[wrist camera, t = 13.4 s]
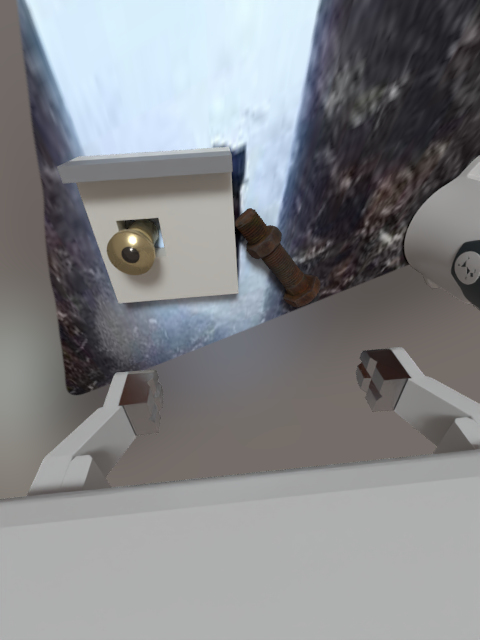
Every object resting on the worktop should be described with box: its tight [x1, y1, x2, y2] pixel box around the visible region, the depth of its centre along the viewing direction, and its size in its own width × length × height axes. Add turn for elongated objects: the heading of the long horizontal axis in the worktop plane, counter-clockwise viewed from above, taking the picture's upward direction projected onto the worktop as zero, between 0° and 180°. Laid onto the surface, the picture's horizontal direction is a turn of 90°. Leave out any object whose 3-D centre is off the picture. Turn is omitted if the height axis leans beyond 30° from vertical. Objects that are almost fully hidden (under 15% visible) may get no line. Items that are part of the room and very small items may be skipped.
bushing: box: [107, 219, 159, 275], centre depth 36 cm, size 5×5×7 cm
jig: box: [57, 147, 238, 303], centre depth 37 cm, size 17×18×6 cm
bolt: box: [235, 208, 320, 307], centre depth 41 cm, size 6×5×15 cm
